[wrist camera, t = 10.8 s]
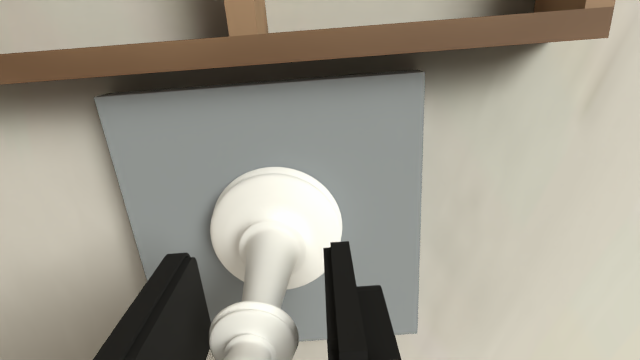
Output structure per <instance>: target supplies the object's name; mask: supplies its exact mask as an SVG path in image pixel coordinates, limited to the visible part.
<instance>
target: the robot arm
mask: <svg viewBox="0 0 640 360" xmlns="http://www.w3.org/2000/svg"><path fill="white" fill-rule="evenodd" d="M330 245H331V247H329V248H323V253H324V276H325V299H326V322H327V345H328V360H401V357H400V353H399V349H398V346H397V342H396V338H395V335H394V331H393V327H392V324H391V320H390V316H389V313H388V309H387V305H386V302H385V298H384V294H383V291H382V288H381V286H380V285H372V286H356V280H355V274H354V268H353V262H352V256H351V251H350V245H349V241H343V242H330ZM210 326H211V321H210V317H209V312H208V308H207V303H206V299H205V295H204V290H203V286H202V281H201V277H200V273H199V268H198V264H197V260H196V258H195V257H190V255H189V253H173V254H167V255H166V256H165V257H164V258H163V260H162V261H161V263H160V264H159V266H158V267H157V268H156V270H155V271H154V273H153V274H152V276H151V277H150V279H149V280H148V281H147V283H146V284H145V286H144V287H143V289H142V290H141V292H140V293H139V294H138V296H137V297H136V299H135V300H134V302H133V303H132V304H131V306H130V307H129V308H128V310H127V311H126V313H125V314H124V316H123V317H122V319H121V320H120V321H119V323H118V324H117V326H116V327H115V329H114V330H113V332H112V333H111V334H110V336H109V337H108V339H107V340H106V342H105V343H104V344H103V346H102V347H101V349H100V350H99V352H98V353H97V355H96V356H95V357H94V359H93V360H206V357H207V354H208V351H209V349H210V345H209V330H210Z"/></svg>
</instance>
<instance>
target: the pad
mask: <svg viewBox="0 0 640 360" xmlns="http://www.w3.org/2000/svg"><path fill="white" fill-rule="evenodd" d="M424 93H425V72H423V71H420V70H408V71H395V72H382V73H368V74H355V75H342V76H329V77H316V78H303V79H290V80H277V81H264V82H251V83H238V84H224V85H211V86H198V87H185V88H172V89H159V90H146V91H133V92H120V93H109V94H105V95H101V96H97V97H94V100H95V103H96V107H97V110H98V114H99V117H100V121H101V124H102V127H103V131H104V134H105V138H106V141H107V145H108V148H109V151H110V155H111V158H112V162H113V165H114V169H115V172H116V176H117V179H118V182H119V186H120V189H121V193H122V196H123V200H124V203H125V207H126V210H127V213H128V217H129V220H130V224H131V227H132V231H133V234H134V237H135V241H136V244H137V248H138V251H139V255H140V258H141V262H142V265H143V268H144V272H145V275H146V279H147V281H148V280H149V279H150V277H151V276H152V274H153V273H154V271H155V270H156V268H157V267H158V266H159V264H160V263H161V261H162V260H163V258H164V257H165V256H166V255H167V254H173V253H189V255H190V257H195V258H196V260H197V264H198V268H199V273H200V277H201V281H202V286H203V290H204V295H205V299H206V303H207V308H208V312H209V317H210V321H211V323H212V321H213V319H214V318H215V316H216V315H217V314H218V313H219V312H220V311H221V310H223V309H224V308H226V307H228V306H230V305H232V304H235V303H238V302H241V301H242V295H243V286H244V282H243V281H242V280H240V279H238V278H237V277H235V276H234V275H233V274H232V273H230V272H229V271H228V270H227V269H226V268H225V267H224V265H223V264H222V263H221V261H220V260H219V258H218V257H217V255H216V253H215V251H214V248H213V245H212V241H211V235H210V225H211V219H212V215H213V211H214V207H215V204H216V202H217V200H218V198H219V196H220V195H221V193H222V192H223V190H224V189H225V188H226V187H227V186H228V185H229V184H230V183H231V182H232V181H233V180H235V179H236V178H238V177H239V176H241V175H243V174H245V173H247V172H249V171H252V170H256V169H259V168H265V167H285V168H290V169H294V170H298V171H301V172H303V173H305V174H307V175H309V176H311V177H313V178H314V179H316V180H317V181H319V182H320V183H321V184H322V185H323V186H325V187H326V189H327V190H328V191H329V192H330V193H331V195H332V196H333V197H334V199H335V201H336V203H337V205H338V207H339V210H340V213H341V218H342V236H341V242H343V241H349V245H350V251H351V256H352V262H353V268H354V274H355V280H356V286H372V285H380V286H381V288H382V291H383V294H384V298H385V302H386V305H387V309H388V313H389V316H390V320H391V324H392V327H393V331H394V335H401V334H416V333H417V328H418V294H419V261H420V227H421V193H422V160H423V126H424ZM281 309H282V310H283V311H284V312H286V313H287V314H288V315H289V316H290V317H291V318H292V320H293V321H294V323H295V325H296V327H297V330H298V335H299V341H313V340H327V322H326V299H325V276H324V273H323V274H322V275H321V276H320V277H318V278H317V279H315V280H314V281H312V282H310V283H308V284H306V285H303V286H301V287H297V288H293V289H288V290H286V293H285V296H284V299H283V302H282V306H281Z"/></svg>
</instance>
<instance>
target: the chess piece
mask: <svg viewBox="0 0 640 360" xmlns="http://www.w3.org/2000/svg"><path fill="white" fill-rule="evenodd" d="M210 235H211V241H212V245H213V248H214V251H215V253H216V255H217V257H218V258H219V260H220V261H221V263H222V264H223V265H224V267H225V268H226V269H227V270H228V271H229V272H230V273H232V274H233V275H234V276H235V277H237V278H238V279H240V280H242V281H243V282H244V286H243V295H242V301H241V302H238V303H235V304H232V305H230V306H228V307H226V308H224V309H223V310H221V311H220V312H219V313H218V314H217V315H216V316H215V318H214V319H213V321H212V323H211V326H210V330H209V345H210V350H211V352H212V355H213V356H214V358H215V359H216V360H291V359H292V358H293V356H294V353H295V351H296V349H297V346H298V342H299V335H298V330H297V327H296V325H295V323H294V321H293V320H292V318H291V317H290V316H289V315H288V314H287V313H286V312H284V311H283V310H282V309H281V306H282V302H283V299H284V296H285V293H286V290H288V289H293V288H297V287H301V286H303V285H306V284H308V283H310V282H312V281H314V280H315V279H317V278H318V277H320V276H321V275H322V274H323V273H324V253H323V248H329V247H331V245H330V242H341V236H342V218H341V213H340V210H339V207H338V205H337V203H336V201H335V199H334V197H333V196H332V195H331V193H330V192H329V191H328V190H327V189H326V187H325V186H323V185H322V184H321V183H320V182H319V181H317V180H316V179H314V178H313V177H311V176H309V175H307V174H305V173H303V172H301V171H298V170H294V169H290V168H285V167H265V168H259V169H256V170H252V171H249V172H247V173H245V174H243V175H241V176H239V177H238V178H236V179H235V180H233V181H232V182H231V183H230V184H229V185H228V186H227V187H226V188H225V189H224V190H223V192H222V193H221V195H220V196H219V198H218V200H217V202H216V204H215V207H214V211H213V215H212V219H211V225H210Z"/></svg>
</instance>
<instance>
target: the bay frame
mask: <svg viewBox="0 0 640 360" xmlns="http://www.w3.org/2000/svg"><path fill="white" fill-rule="evenodd" d="M224 5H225V12H226V18H227V25H228V32H229V37H216V38H203V39H190V40H178V41H165V42H152V43H139V44H126V45H113V46H101V47H88V48H75V49H62V50H49V51H37V52H24V53H11V54H0V85H1V84H14V83H27V82H40V81H53V80H66V79H79V78H92V77H105V76H117V75H130V74H143V73H156V72H169V71H182V70H195V69H208V68H221V67H234V66H247V65H260V64H273V63H286V62H299V61H312V60H325V59H338V58H351V57H364V56H377V55H390V54H403V53H416V52H429V51H442V50H455V49H468V48H481V47H494V46H507V45H520V44H533V43H546V42H559V41H572V40H585V39H598V38H608V36H609V31H610V25H611V20H612V15H613V10H614V5H615V0H535V7H534V13H524V14H511V15H498V16H485V17H472V18H460V19H447V20H434V21H421V22H408V23H395V24H383V25H370V26H357V27H344V28H331V29H319V30H306V31H293V32H280V33H268V26H267V18H266V9H265V0H224Z"/></svg>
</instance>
